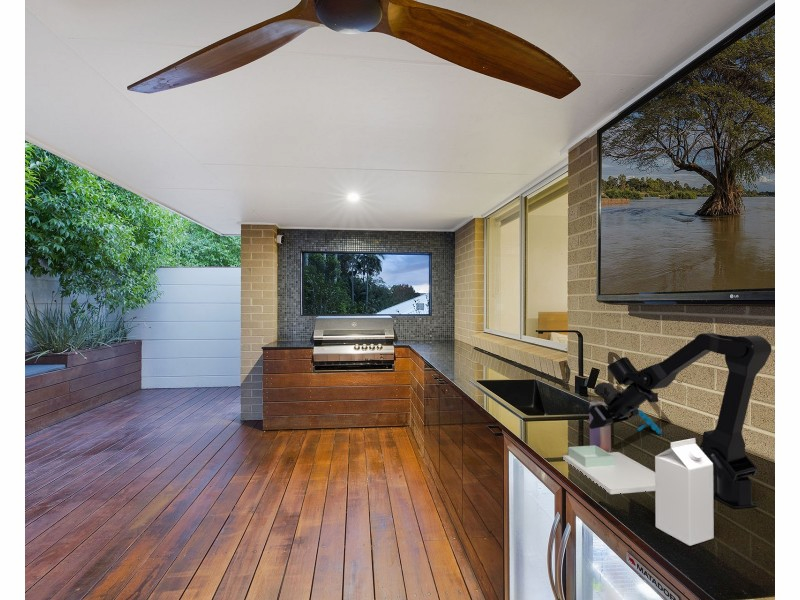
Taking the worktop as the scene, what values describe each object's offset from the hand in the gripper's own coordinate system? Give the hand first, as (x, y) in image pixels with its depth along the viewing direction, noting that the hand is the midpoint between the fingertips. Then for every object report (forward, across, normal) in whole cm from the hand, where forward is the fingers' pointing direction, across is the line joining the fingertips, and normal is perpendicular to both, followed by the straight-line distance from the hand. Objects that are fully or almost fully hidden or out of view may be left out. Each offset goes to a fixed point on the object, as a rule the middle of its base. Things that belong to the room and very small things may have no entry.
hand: (596, 425), depth 130 cm
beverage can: (+4, 0, +6) cm, 8 cm away
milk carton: (-20, +29, +31) cm, 47 cm away
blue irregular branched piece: (+5, -32, +6) cm, 33 cm away
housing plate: (-4, +12, +14) cm, 19 cm away
